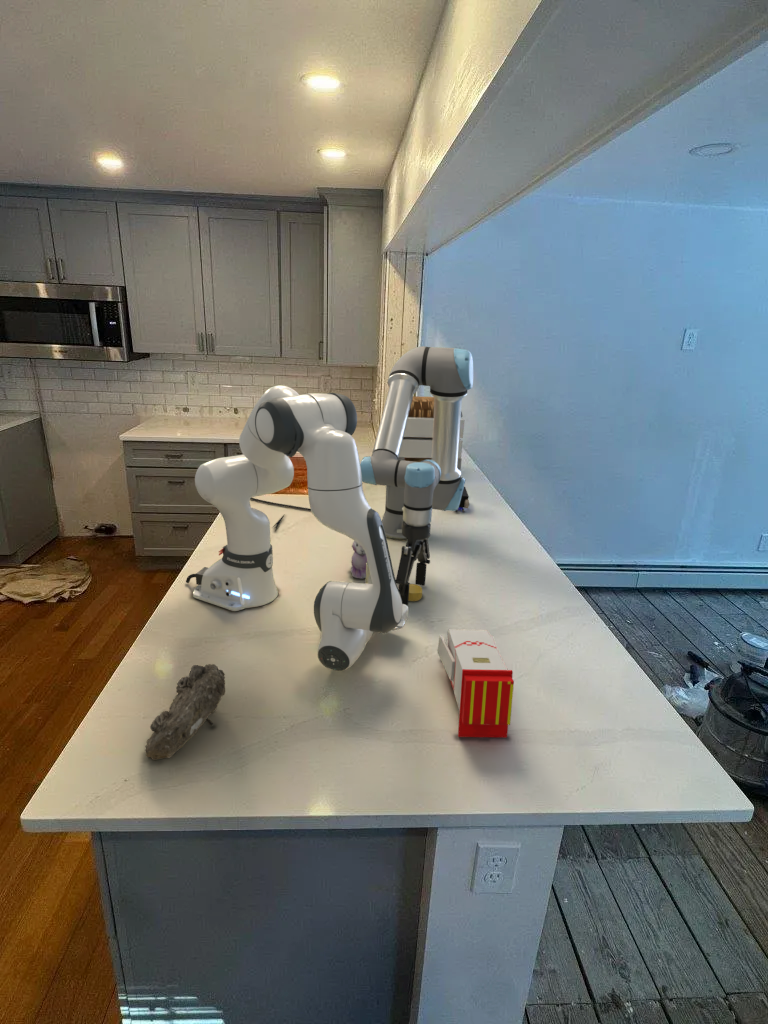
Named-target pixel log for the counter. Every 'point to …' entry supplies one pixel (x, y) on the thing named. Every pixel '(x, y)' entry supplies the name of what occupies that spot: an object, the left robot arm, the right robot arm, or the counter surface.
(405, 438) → the slatted wooden crate
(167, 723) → the fossil
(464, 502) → the figurine character
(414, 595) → the lid
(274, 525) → the feather
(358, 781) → the counter surface
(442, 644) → the toy
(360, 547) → the figurine
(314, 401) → the left robot arm
